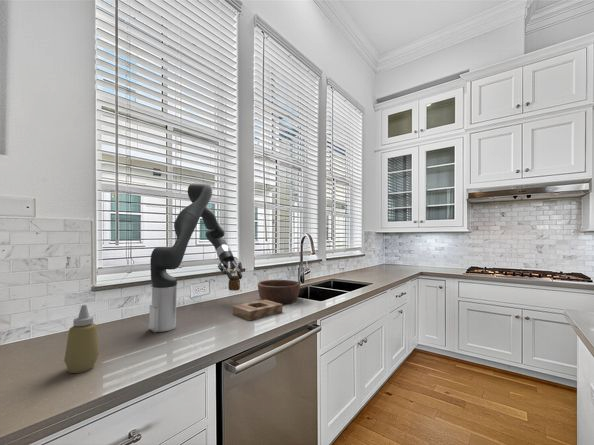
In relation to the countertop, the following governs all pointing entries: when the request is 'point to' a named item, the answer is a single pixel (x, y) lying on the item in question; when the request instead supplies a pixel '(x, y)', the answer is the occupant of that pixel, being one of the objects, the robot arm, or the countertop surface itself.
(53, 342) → the countertop surface
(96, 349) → the squeeze bottle
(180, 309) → the countertop surface
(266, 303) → the wooden block with hole
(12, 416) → the countertop surface
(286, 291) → the wooden bowl
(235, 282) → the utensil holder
